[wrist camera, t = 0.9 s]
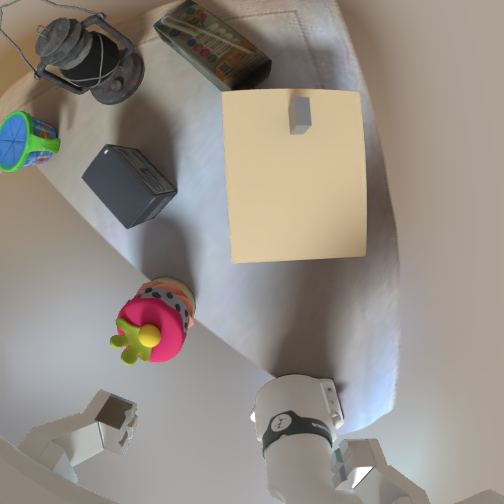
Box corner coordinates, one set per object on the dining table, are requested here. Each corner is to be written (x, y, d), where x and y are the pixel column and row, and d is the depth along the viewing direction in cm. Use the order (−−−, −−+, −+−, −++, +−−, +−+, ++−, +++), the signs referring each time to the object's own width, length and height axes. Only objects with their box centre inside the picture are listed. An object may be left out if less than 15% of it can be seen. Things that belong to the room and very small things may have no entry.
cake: (162, 262, 46) (125, 296, 32) (210, 303, 48) (192, 352, 33) (130, 303, 48) (91, 344, 34) (174, 340, 50) (150, 392, 35)
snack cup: (16, 161, 42) (-17, 162, 32) (30, 112, 39) (-2, 106, 29) (63, 180, 43) (28, 182, 33) (80, 124, 41) (46, 116, 31)
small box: (112, 177, 43) (78, 177, 33) (137, 147, 42) (106, 140, 32) (152, 220, 45) (125, 232, 34) (179, 191, 43) (157, 195, 33)
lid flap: (363, 254, 35) (383, 268, 29) (232, 261, 35) (227, 278, 29) (357, 93, 30) (375, 78, 24) (222, 93, 30) (215, 75, 24)
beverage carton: (195, 13, 36) (188, -6, 29) (273, 75, 39) (275, 59, 33) (161, 40, 37) (149, 23, 31) (235, 105, 40) (232, 93, 34)
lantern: (102, 120, 40) (-33, 82, 11) (80, 82, 38) (-37, 34, 9) (159, 73, 39) (58, -23, 10) (132, 38, 37) (40, -50, 8)
